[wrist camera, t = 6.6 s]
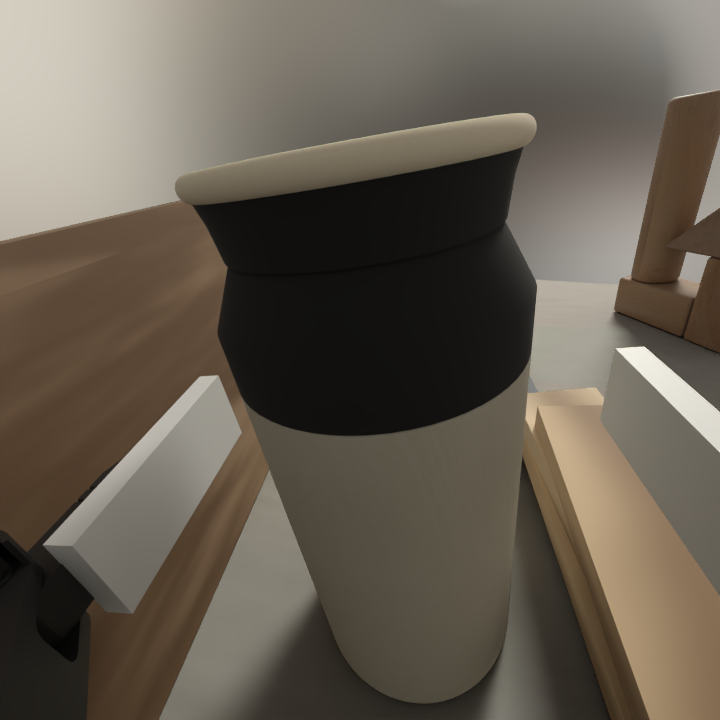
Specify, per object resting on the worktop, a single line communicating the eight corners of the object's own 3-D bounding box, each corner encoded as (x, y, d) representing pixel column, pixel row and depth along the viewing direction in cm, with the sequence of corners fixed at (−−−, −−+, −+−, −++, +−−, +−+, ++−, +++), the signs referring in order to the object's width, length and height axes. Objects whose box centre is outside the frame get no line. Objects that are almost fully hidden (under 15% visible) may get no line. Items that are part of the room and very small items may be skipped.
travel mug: (551, 651, 14) (677, 82, 5) (360, 751, 12) (95, 180, 4) (447, 497, 21) (427, 137, 12) (314, 550, 19) (182, 180, 11)
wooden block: (725, 357, 28) (839, 66, 19) (611, 311, 37) (653, 101, 29) (765, 346, 28) (894, 56, 20) (642, 303, 38) (693, 94, 29)
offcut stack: (725, 1128, 7) (834, 1221, 5) (504, 422, 24) (508, 374, 21) (1128, 1236, 6) (1479, 1410, 4) (603, 418, 23) (617, 367, 20)
